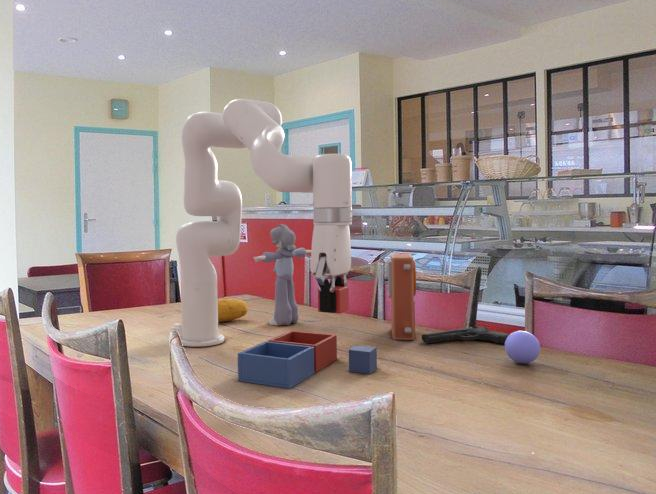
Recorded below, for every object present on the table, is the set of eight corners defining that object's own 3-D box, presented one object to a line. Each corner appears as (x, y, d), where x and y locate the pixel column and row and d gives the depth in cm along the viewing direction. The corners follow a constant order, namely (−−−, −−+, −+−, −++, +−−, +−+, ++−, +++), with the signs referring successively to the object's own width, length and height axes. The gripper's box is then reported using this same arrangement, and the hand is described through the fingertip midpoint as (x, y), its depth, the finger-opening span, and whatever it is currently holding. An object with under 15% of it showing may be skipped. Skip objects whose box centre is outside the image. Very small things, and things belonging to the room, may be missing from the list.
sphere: (505, 366, 123) (505, 333, 123) (503, 358, 129) (503, 327, 129) (542, 368, 120) (541, 335, 120) (538, 360, 127) (538, 328, 127)
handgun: (453, 355, 136) (419, 342, 147) (515, 344, 143) (478, 333, 154) (453, 343, 135) (419, 331, 146) (515, 333, 143) (478, 322, 154)
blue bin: (238, 380, 116) (237, 353, 116) (265, 366, 126) (265, 341, 126) (289, 388, 110) (289, 359, 110) (314, 373, 120) (314, 346, 120)
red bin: (267, 365, 127) (267, 340, 127) (291, 353, 137) (290, 330, 137) (316, 372, 121) (315, 345, 121) (337, 359, 131) (336, 334, 131)
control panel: (413, 329, 162) (417, 341, 147) (388, 328, 163) (389, 340, 148) (412, 253, 161) (416, 257, 147) (387, 253, 163) (388, 257, 148)
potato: (202, 320, 181) (202, 299, 181) (244, 317, 185) (244, 296, 185) (208, 325, 174) (208, 302, 173) (252, 321, 178) (251, 299, 178)
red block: (318, 311, 113) (317, 288, 112) (327, 308, 117) (327, 285, 116) (340, 313, 110) (339, 289, 110) (348, 309, 114) (348, 286, 114)
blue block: (348, 371, 121) (348, 349, 121) (356, 366, 125) (356, 345, 125) (370, 374, 119) (369, 352, 119) (377, 368, 123) (376, 347, 123)
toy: (299, 314, 188) (297, 222, 188) (320, 316, 184) (319, 222, 183) (244, 330, 164) (242, 225, 164) (267, 334, 159) (265, 225, 159)
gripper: (331, 216, 122) (332, 302, 123) (296, 218, 108) (297, 315, 108) (365, 216, 118) (366, 304, 119) (333, 218, 104) (334, 319, 104)
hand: (333, 308), depth 113 cm, fingers closed on red block, 4 cm apart
